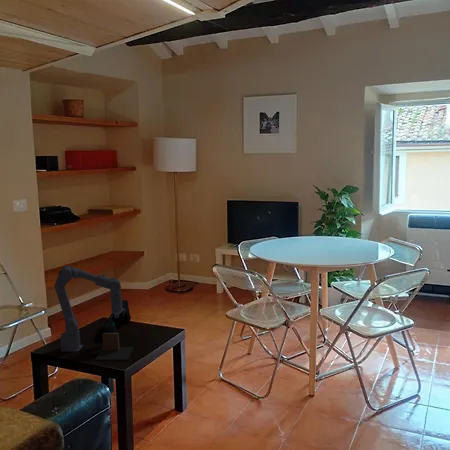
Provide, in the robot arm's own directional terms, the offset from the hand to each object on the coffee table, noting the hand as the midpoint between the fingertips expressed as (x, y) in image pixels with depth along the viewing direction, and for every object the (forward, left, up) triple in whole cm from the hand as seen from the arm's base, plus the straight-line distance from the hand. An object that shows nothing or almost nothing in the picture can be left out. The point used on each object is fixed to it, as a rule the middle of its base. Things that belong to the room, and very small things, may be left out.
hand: (118, 326), depth 258 cm
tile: (-2, -10, -9) cm, 14 cm away
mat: (+1, -14, -10) cm, 17 cm away
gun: (-6, +20, -10) cm, 23 cm away
